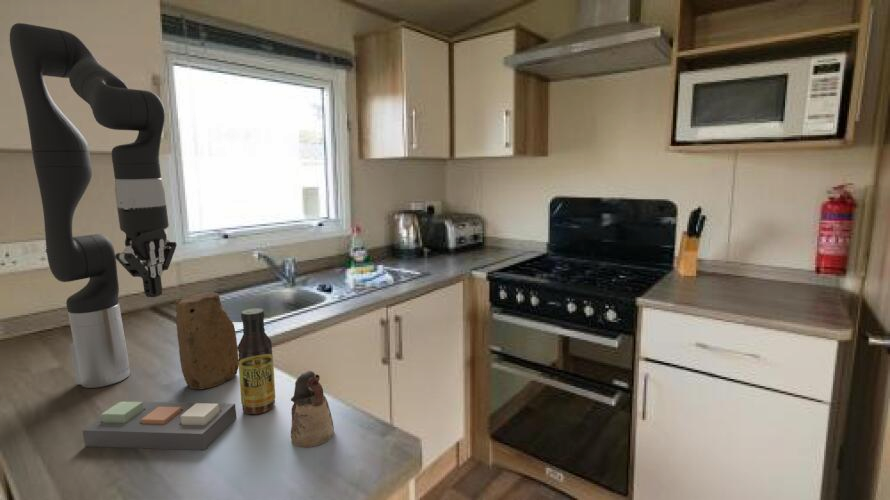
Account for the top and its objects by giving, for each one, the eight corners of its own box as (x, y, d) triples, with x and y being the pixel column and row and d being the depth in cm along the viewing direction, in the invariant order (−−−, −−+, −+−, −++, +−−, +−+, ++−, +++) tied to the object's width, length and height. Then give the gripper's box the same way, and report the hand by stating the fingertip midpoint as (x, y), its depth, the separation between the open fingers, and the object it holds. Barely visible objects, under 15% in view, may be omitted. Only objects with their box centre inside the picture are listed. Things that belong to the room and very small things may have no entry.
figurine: (318, 420, 87) (312, 359, 84) (342, 433, 82) (337, 369, 80) (283, 438, 81) (277, 374, 79) (307, 453, 77) (301, 385, 75)
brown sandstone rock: (192, 395, 98) (179, 303, 94) (181, 384, 103) (169, 297, 100) (244, 377, 105) (234, 292, 102) (231, 368, 111) (221, 287, 107)
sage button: (103, 424, 83) (101, 414, 83) (122, 411, 87) (120, 401, 87) (125, 424, 82) (124, 414, 82) (144, 411, 87) (142, 402, 86)
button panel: (85, 446, 81) (82, 430, 80) (129, 415, 91) (126, 401, 90) (204, 450, 78) (202, 433, 78) (236, 418, 88) (234, 403, 88)
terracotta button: (142, 429, 82) (141, 419, 82) (160, 416, 87) (158, 406, 86) (166, 430, 82) (164, 419, 81) (182, 417, 86) (180, 407, 86)
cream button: (181, 426, 81) (180, 415, 81) (197, 413, 86) (196, 403, 85) (205, 427, 81) (204, 416, 81) (220, 413, 85) (218, 403, 85)
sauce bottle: (243, 419, 88) (231, 318, 84) (241, 405, 93) (229, 309, 90) (280, 410, 91) (270, 312, 87) (275, 397, 96) (265, 304, 93)
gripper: (149, 200, 91) (160, 286, 95) (92, 207, 78) (107, 306, 82) (185, 200, 90) (194, 287, 94) (133, 208, 77) (146, 307, 81)
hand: (154, 295), depth 88 cm, fingers closed
